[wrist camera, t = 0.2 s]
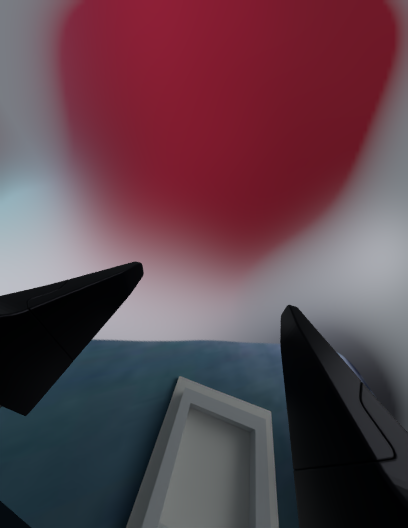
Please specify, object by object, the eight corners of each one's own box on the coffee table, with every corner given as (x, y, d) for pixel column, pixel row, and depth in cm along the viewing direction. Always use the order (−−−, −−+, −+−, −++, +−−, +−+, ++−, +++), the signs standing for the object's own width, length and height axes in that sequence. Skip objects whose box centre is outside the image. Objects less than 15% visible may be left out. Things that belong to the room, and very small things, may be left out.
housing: (285, 688, 8) (309, 738, 6) (112, 568, 10) (100, 586, 8) (269, 412, 17) (277, 407, 15) (179, 377, 19) (179, 370, 17)
